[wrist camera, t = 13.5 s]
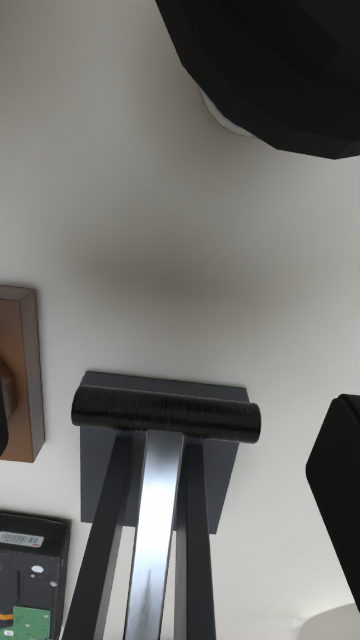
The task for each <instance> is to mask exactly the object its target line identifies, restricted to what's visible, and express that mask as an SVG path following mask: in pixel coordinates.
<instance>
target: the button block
mask: <svg viewBox="0 0 360 640" xmlns="http://www.w3.org/2000/svg"><path fill="white" fill-rule="evenodd" d="M0 376H1V383H2V390H3V397H4V404H5V411H6V418H7V425H8V432H9V440H8V444H7V447H6V449H5V450H4V452H3V454H2V455H1V457H0V460H8V461H18V462H28V463H33V462H34V461H35V459H36V457H37V455H38V453H39V451H40V450H41V448H42V446H43V444H44V442H45V438H44V423H43V407H42V392H41V376H40V361H39V346H38V330H37V315H36V300H35V290H34V289H26V288H17V287H8V286H0Z"/></svg>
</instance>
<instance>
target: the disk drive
mask: <svg viewBox="0 0 360 640" xmlns="http://www.w3.org/2000/svg"><path fill="white" fill-rule="evenodd" d="M69 540H70V525H69V524H61V523H60V522H56V521H50V520H47V519H41V518H33V517H26V516H18V515H11V514H4V513H0V640H59V637H60V632H61V626H62V619H63V606H64V593H65V582H66V571H67V558H68V551H69Z"/></svg>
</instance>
